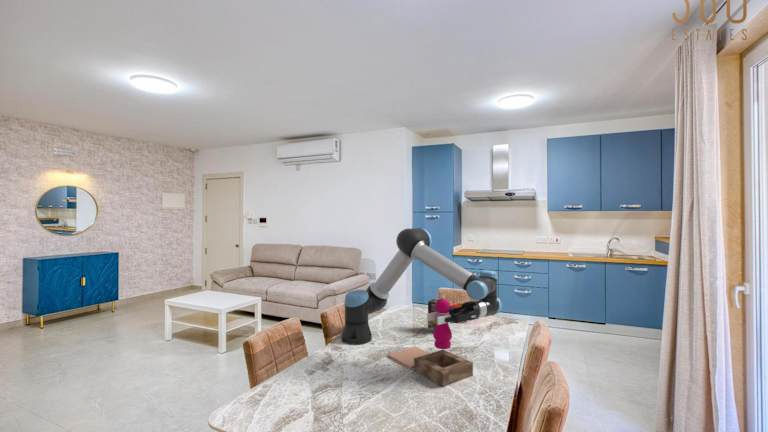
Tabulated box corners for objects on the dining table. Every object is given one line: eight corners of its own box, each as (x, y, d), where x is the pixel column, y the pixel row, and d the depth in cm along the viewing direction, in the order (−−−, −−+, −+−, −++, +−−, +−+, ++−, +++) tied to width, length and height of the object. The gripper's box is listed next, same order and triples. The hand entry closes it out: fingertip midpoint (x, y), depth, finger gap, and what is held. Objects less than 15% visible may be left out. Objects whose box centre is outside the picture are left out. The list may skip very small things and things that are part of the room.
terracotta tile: (387, 356, 154) (387, 353, 154) (415, 348, 163) (415, 346, 163) (410, 369, 140) (410, 366, 140) (439, 359, 150) (439, 357, 150)
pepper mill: (451, 350, 133) (452, 297, 133) (432, 349, 135) (432, 296, 135) (452, 343, 140) (452, 293, 140) (433, 342, 142) (434, 292, 142)
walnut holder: (414, 370, 139) (414, 358, 139) (442, 361, 148) (443, 349, 148) (443, 387, 126) (443, 373, 126) (472, 375, 135) (472, 362, 135)
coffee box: (427, 331, 187) (427, 301, 188) (432, 328, 193) (432, 298, 193) (443, 334, 183) (443, 303, 183) (447, 331, 188) (447, 301, 188)
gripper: (490, 324, 140) (449, 335, 127) (457, 314, 155) (417, 323, 142) (491, 305, 140) (450, 314, 127) (457, 297, 155) (417, 304, 142)
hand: (432, 319), depth 134 cm, fingers closed on pepper mill, 5 cm apart
